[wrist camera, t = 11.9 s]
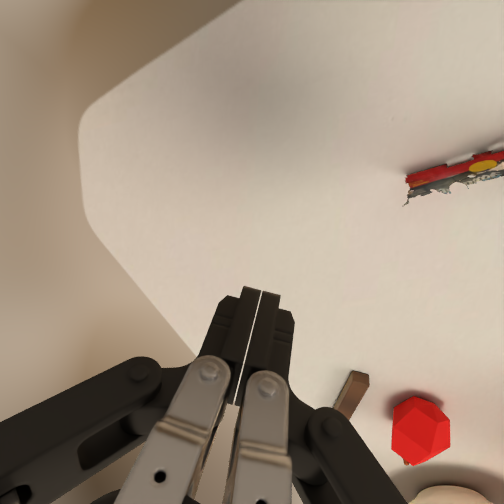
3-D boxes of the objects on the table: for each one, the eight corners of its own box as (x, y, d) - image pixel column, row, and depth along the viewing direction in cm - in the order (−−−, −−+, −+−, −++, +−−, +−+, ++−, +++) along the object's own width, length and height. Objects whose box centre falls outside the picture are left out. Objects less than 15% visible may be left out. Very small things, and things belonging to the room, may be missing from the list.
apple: (423, 421, 37) (390, 479, 39) (476, 433, 39) (442, 488, 41) (391, 379, 44) (365, 430, 46) (438, 391, 45) (410, 440, 47)
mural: (409, 244, 33) (422, 284, 28) (392, 172, 29) (402, 203, 25) (572, 207, 28) (619, 246, 23) (572, 117, 25) (626, 142, 20)
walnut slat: (343, 419, 49) (343, 430, 48) (329, 415, 49) (328, 425, 48) (369, 374, 43) (369, 385, 42) (352, 370, 43) (352, 380, 42)
